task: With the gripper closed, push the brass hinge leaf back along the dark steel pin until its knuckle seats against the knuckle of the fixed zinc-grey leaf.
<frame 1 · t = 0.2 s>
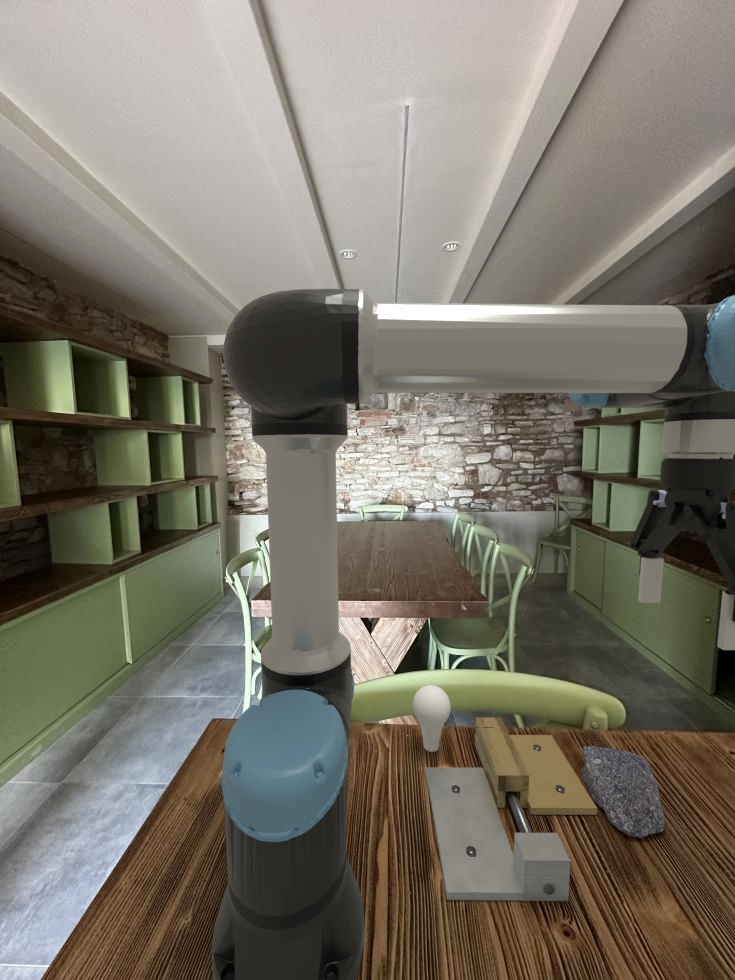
hand: (685, 622, 52), 28 cm above the table, fingers open, 13 cm apart
zinc leaf: (517, 821, 54), on the table
rock: (628, 805, 57), on the table
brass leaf: (528, 758, 62), point 3 cm above the table, slide at 8.0 cm
lightbulb: (430, 751, 67), on the table
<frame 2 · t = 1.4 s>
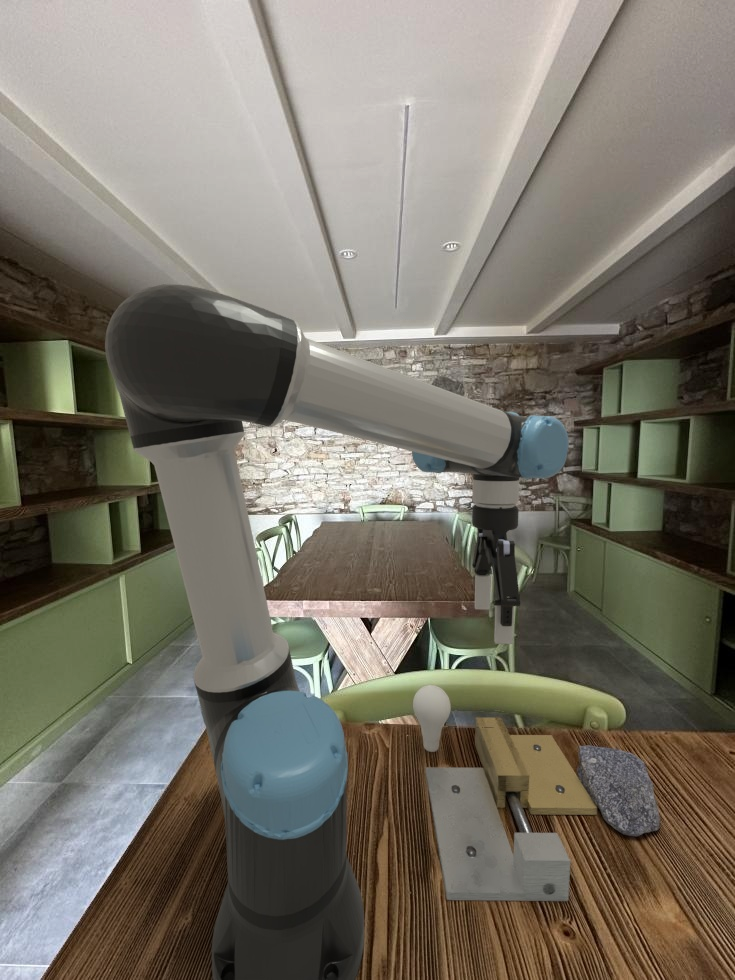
hand: (491, 624, 71), 19 cm above the table, fingers open, 13 cm apart
nothing on the table moved.
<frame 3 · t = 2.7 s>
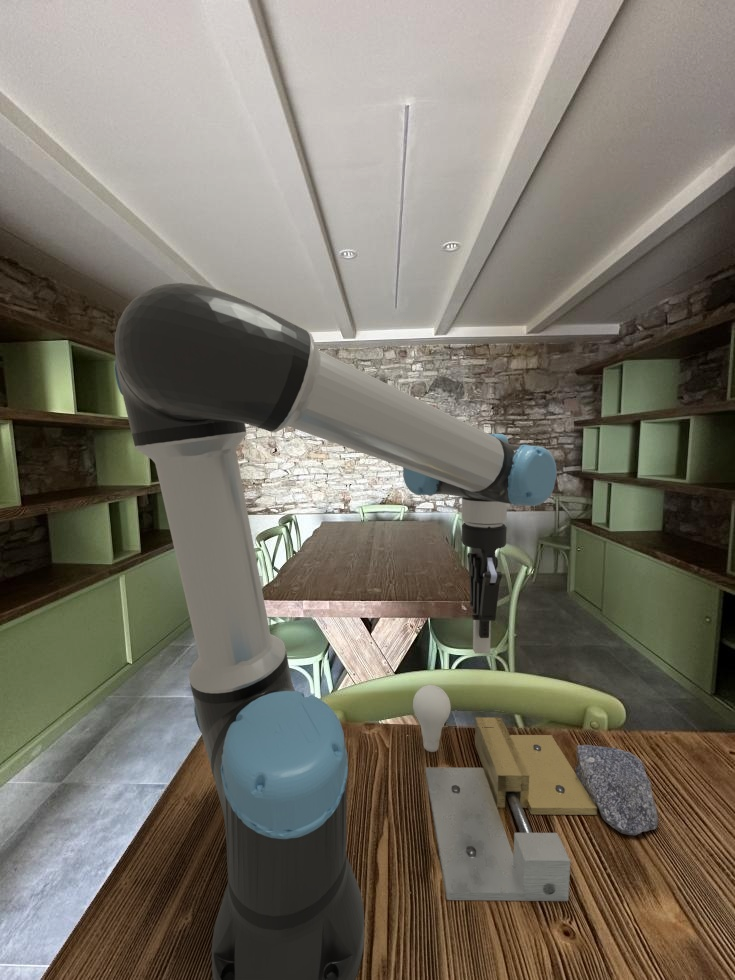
hand: (481, 651, 73), 13 cm above the table, fingers closed
nothing on the table moved.
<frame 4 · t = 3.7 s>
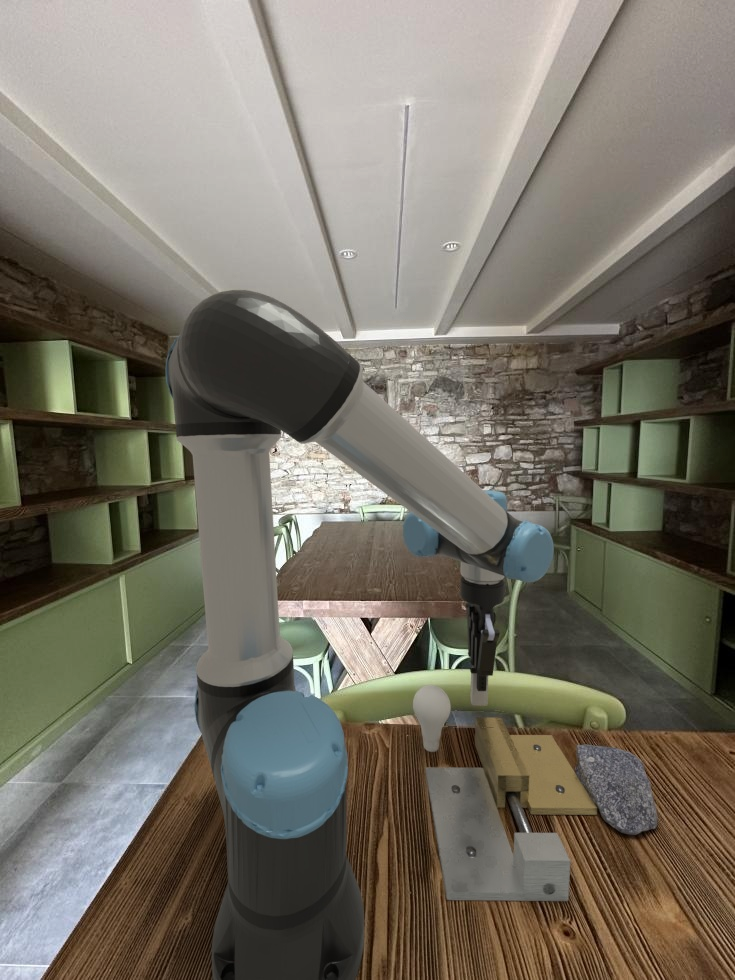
hand: (478, 702, 73), 4 cm above the table, fingers closed
nothing on the table moved.
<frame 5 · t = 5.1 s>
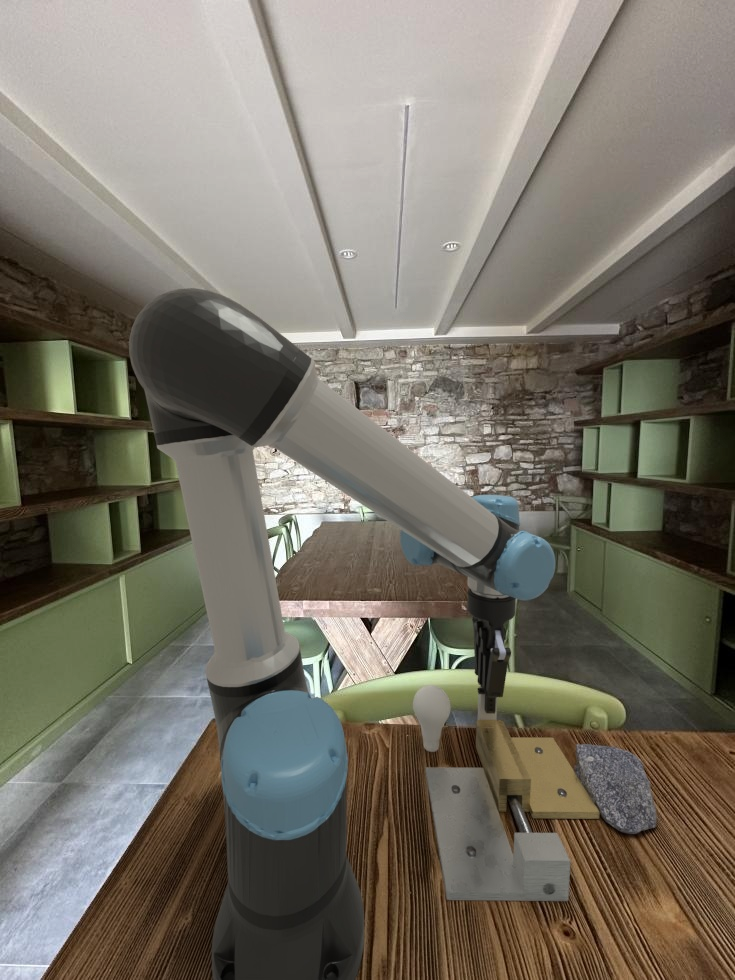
hand: (486, 725, 68), 3 cm above the table, fingers closed
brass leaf: (530, 761, 61), point 3 cm above the table, slide at 7.4 cm, touching gripper
everything else where it was.
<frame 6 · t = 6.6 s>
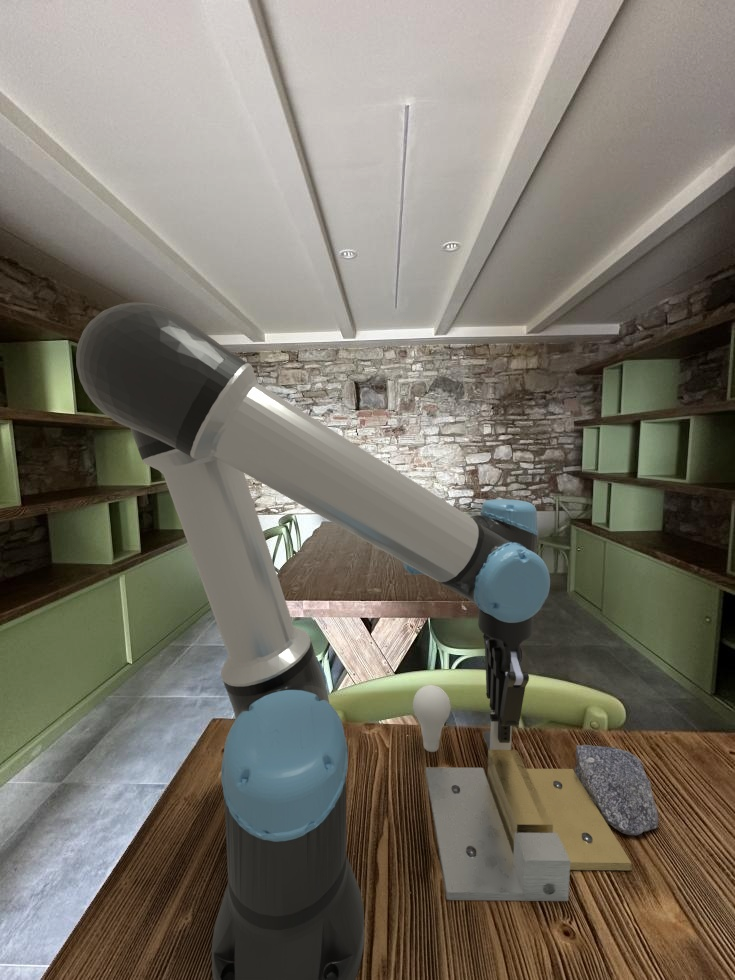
hand: (499, 755, 61), 4 cm above the table, fingers closed
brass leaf: (549, 799, 54), point 3 cm above the table, slide at 0.7 cm, touching gripper
everything else where it was.
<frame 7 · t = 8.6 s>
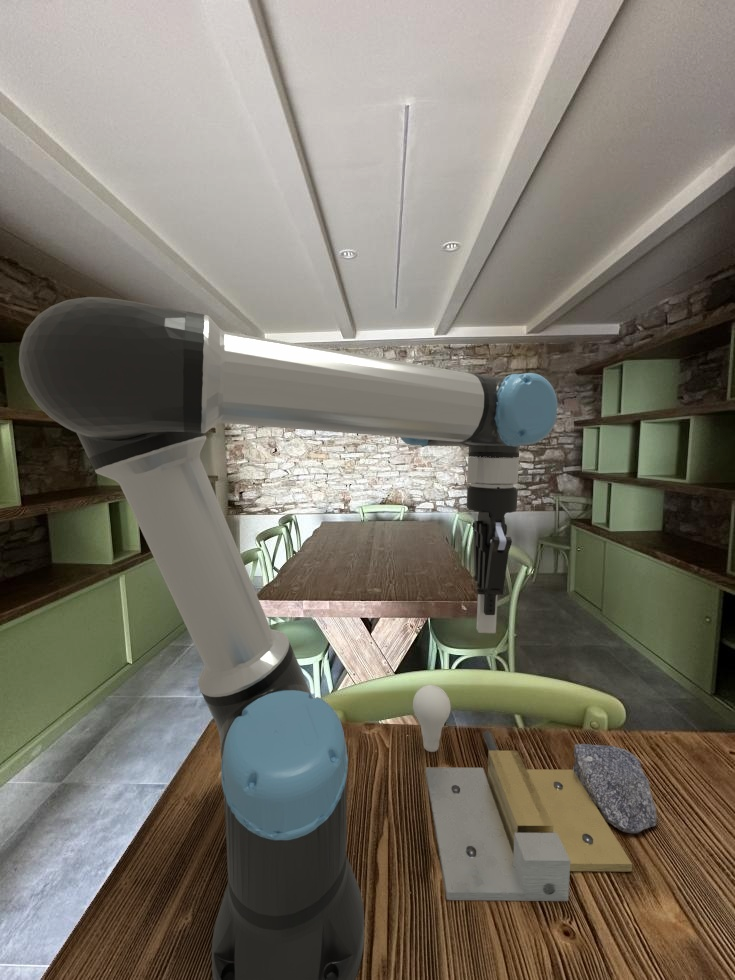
hand: (486, 630, 65), 21 cm above the table, fingers closed
rock: (619, 801, 58), on the table, touching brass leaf
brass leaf: (550, 800, 54), point 3 cm above the table, slide at 0.6 cm, touching rock
everything else where it was.
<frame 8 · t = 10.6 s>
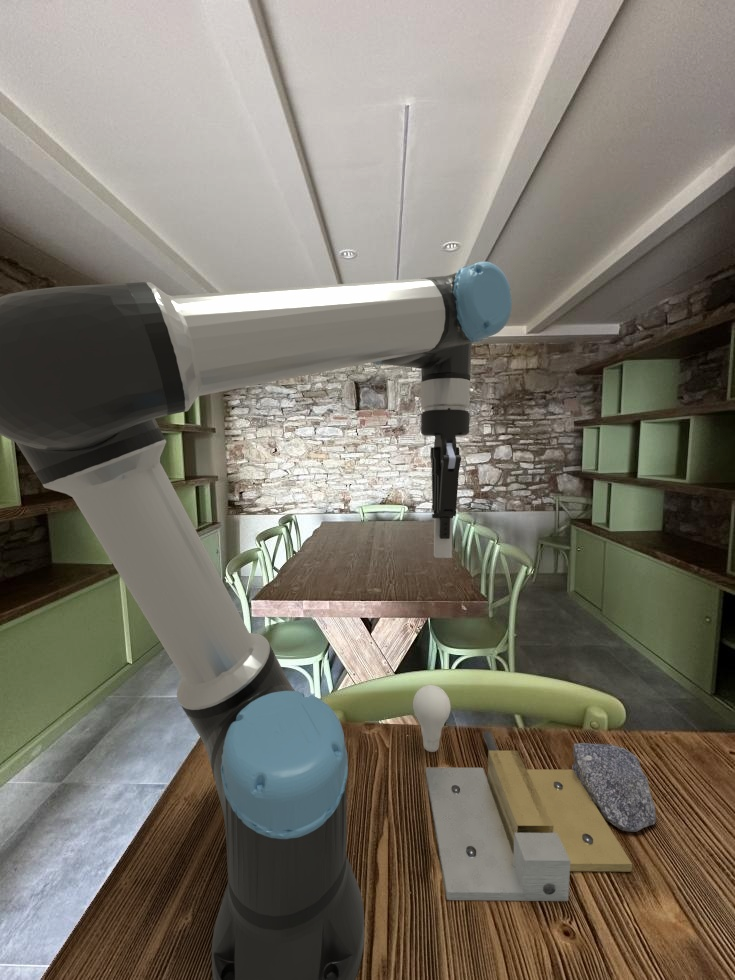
hand: (442, 556, 66), 32 cm above the table, fingers closed
rock: (619, 799, 58), on the table
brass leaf: (550, 800, 54), point 3 cm above the table, slide at 0.6 cm
everything else where it was.
at the end: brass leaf slide at 0.6 cm; the gripper is holding nothing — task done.
